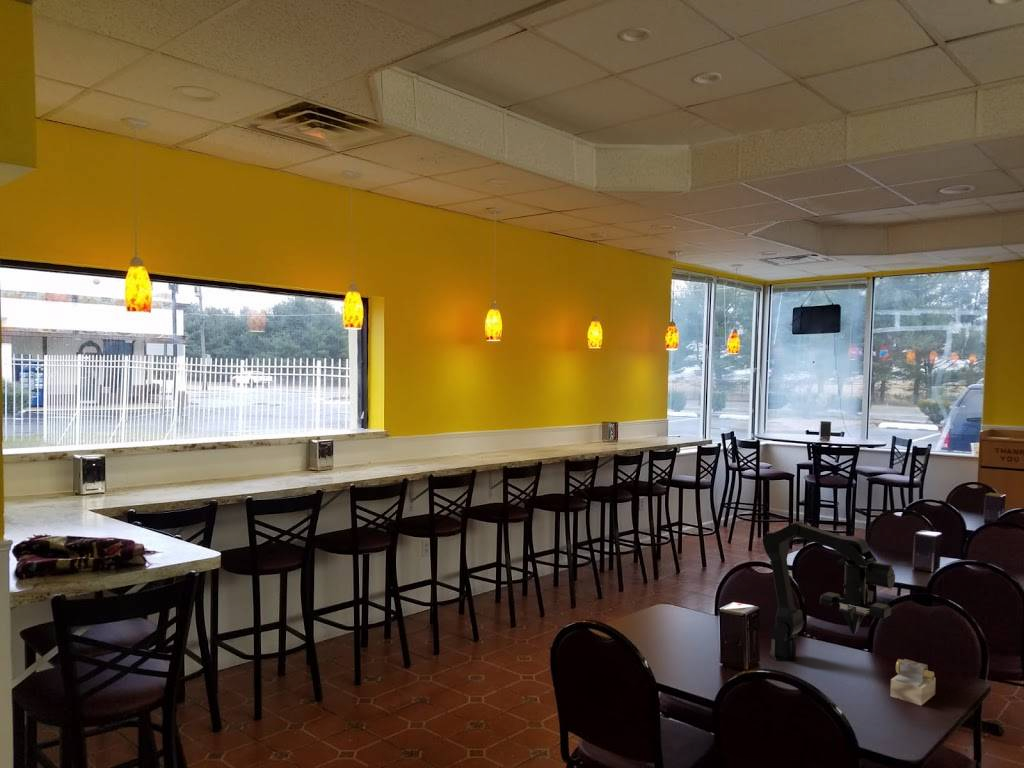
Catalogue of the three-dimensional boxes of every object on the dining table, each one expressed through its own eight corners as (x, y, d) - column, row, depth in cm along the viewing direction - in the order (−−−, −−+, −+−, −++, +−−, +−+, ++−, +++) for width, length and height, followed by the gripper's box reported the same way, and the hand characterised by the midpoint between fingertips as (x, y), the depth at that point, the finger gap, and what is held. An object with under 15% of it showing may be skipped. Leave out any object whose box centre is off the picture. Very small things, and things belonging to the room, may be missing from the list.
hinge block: (890, 696, 213) (891, 664, 213) (905, 685, 221) (905, 654, 221) (921, 705, 208) (922, 673, 207) (935, 694, 215) (936, 662, 215)
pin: (895, 675, 216) (895, 660, 216) (900, 671, 219) (901, 657, 218) (930, 685, 209) (930, 670, 209) (935, 681, 212) (935, 666, 212)
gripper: (898, 582, 225) (897, 635, 225) (835, 570, 238) (834, 619, 238) (883, 590, 217) (882, 644, 217) (819, 576, 230) (818, 627, 231)
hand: (853, 633), depth 226 cm, fingers closed
